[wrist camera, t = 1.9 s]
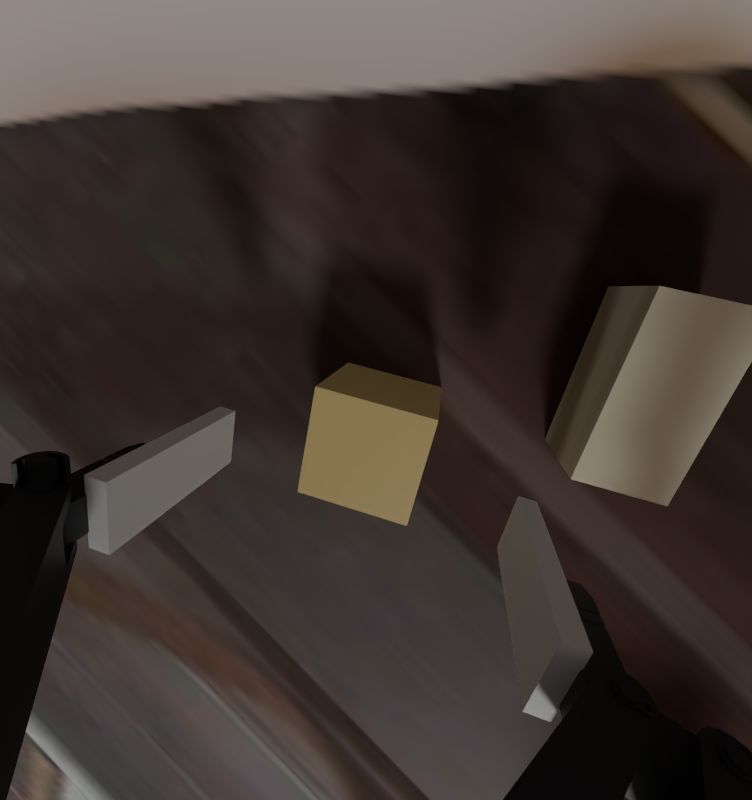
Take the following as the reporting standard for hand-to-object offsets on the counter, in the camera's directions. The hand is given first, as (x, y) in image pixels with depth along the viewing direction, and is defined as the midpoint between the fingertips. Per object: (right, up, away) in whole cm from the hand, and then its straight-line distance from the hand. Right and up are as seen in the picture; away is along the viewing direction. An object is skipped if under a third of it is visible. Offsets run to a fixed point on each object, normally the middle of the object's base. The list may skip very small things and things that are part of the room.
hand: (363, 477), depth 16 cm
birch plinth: (+14, +5, +4) cm, 15 cm away
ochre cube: (+1, +2, +7) cm, 8 cm away
